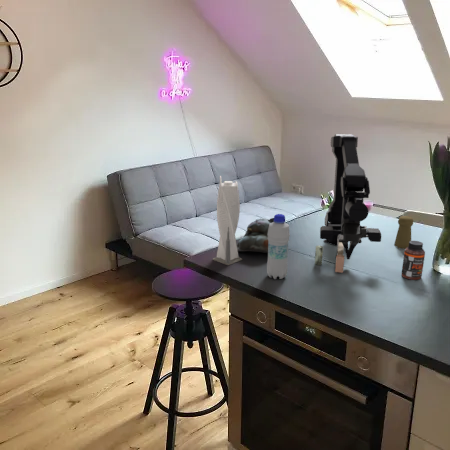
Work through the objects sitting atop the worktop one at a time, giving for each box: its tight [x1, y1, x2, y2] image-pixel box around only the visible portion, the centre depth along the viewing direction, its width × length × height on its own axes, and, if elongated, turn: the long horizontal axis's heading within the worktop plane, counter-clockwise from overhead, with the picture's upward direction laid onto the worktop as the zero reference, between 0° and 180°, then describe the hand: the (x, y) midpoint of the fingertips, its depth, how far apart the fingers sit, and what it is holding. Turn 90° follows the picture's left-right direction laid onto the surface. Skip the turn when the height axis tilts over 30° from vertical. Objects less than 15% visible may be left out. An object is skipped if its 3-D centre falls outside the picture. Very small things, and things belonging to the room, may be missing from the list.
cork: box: [393, 215, 414, 250], centre depth 183 cm, size 6×6×11 cm
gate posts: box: [314, 241, 345, 266], centre depth 170 cm, size 2×16×7 cm, turn 138°
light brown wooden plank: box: [334, 242, 345, 273], centre depth 166 cm, size 17×2×5 cm, turn 167°
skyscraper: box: [212, 175, 243, 266], centre depth 166 cm, size 8×8×28 cm
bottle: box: [266, 213, 291, 280], centre depth 153 cm, size 7×7×20 cm
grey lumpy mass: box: [236, 217, 274, 254], centre depth 176 cm, size 15×12×14 cm
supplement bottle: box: [401, 240, 426, 281], centre depth 155 cm, size 6×6×11 cm
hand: (348, 258), depth 164 cm, fingers closed
